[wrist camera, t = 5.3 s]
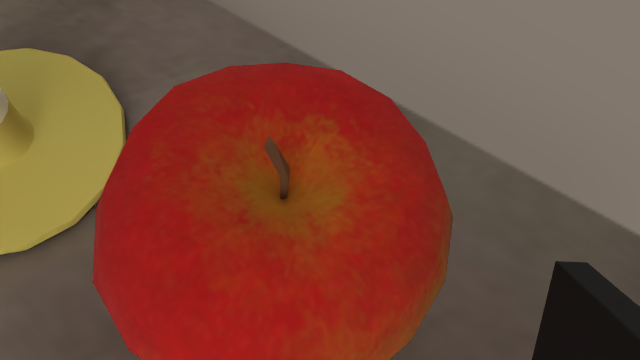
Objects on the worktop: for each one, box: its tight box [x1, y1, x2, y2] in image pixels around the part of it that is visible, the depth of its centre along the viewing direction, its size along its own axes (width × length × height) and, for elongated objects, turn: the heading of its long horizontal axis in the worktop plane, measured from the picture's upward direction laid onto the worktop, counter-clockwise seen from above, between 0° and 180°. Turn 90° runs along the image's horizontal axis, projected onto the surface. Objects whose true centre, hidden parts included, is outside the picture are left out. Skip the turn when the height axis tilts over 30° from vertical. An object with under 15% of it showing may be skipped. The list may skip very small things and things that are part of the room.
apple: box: [93, 63, 453, 360], centre depth 15 cm, size 9×8×12 cm
